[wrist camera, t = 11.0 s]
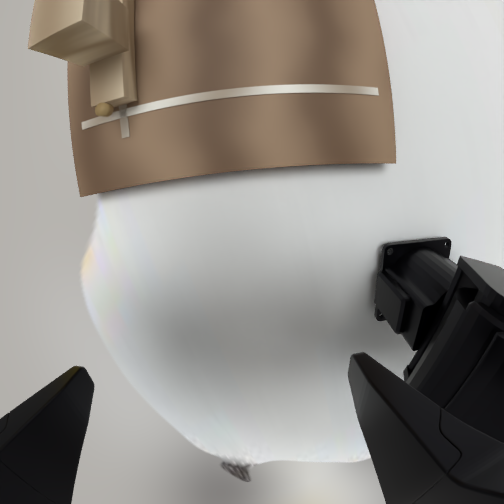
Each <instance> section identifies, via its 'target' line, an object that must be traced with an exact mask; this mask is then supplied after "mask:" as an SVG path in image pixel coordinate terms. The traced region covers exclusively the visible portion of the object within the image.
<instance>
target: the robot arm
mask: <svg viewBox="0 0 504 504" xmlns="http://www.w3.org/2000/svg"><path fill="white" fill-rule="evenodd" d="M445 243H446V245H445ZM390 248H391V250H390V252H388V253H387V250H388V249H390ZM450 249H451V240H450V239H449V238H447V237H440V238H431V239H422V240H412V241H403V242H393V243H387V244H385V245H384V246H383V248H382V254H381V265H380V272H379V274H378V276H377V285H376V293H375V301H374V303H375V304H376V308H375V317H376V319H377V320H378V321H384V320H387V322H388V323H389V325H390V326H391V327H392V329H393V330H394V332H395V333H396V334H402V335H403V337H404V338H405V340H406V341H407V343H408V344H409V346H410V347H411V349H412V350H413V351H416V350H418V351H417V352H416V354H415V356H414V357H413V359H412V361H411V362H410V364H409V365H407V367H406V368H405V370H404V371H403V373H404V380H405V381H403V380H402V379H401V378H399V377H398V376H396V375H395V374H394V373H392V372H391V371H389V370H388V369H387V368H385V367H384V366H383V365H381V364H380V363H378V362H377V361H376V360H374V359H373V358H372V357H370V356H369V355H367V354H366V353H364V352H361V353H356V354H352V355H351V358H350V364H349V370H348V379H349V383H350V387H351V391H352V396H353V400H354V405H355V409H356V414H357V418H358V421H359V424H360V427H361V429H362V432H363V435H364V438H365V441H366V444H367V447H368V450H369V452H370V455H371V458H372V461H373V464H374V467H375V470H376V473H377V476H378V479H379V483H380V486H381V489H382V492H383V495H384V498H385V501H386V504H504V269H502V268H501V267H499V266H496V265H492V264H489V263H485V262H482V261H478V260H474V259H471V258H467V257H463V256H460V258H459V260H458V263H457V264H455V263H454V262H453V261H451V260H450V259H449V255H450ZM380 314H382V315H381V316H379V315H380ZM93 393H94V383H93V381H92V379H91V377H90V376H89V374H88V372H87V370H86V369H85V368H84V367H81V366H74V367H72V368H70V369H69V370H68V371H66V372H65V373H63V374H62V375H61V376H59V377H58V378H56V379H55V380H54V381H52V382H51V383H50V384H48V385H47V386H45V387H44V388H42V389H41V390H40V391H38V392H37V393H35V394H34V395H33V396H31V397H30V398H28V399H27V400H26V401H24V402H23V403H22V404H20V405H19V406H17V407H16V408H15V409H13V410H12V411H10V413H8V414H6V415H5V416H4V417H2V418H1V419H0V504H71V501H72V495H73V489H74V484H75V479H76V474H77V468H78V464H79V459H80V455H81V450H82V446H83V442H84V438H85V434H86V430H87V426H88V421H89V416H90V410H91V404H92V398H93Z"/></svg>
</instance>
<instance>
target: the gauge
mask: <svg viewBox="0 0 504 504" xmlns="http://www.w3.org/2000/svg"><path fill="white" fill-rule="evenodd" d="M134 1H135V0H35V3H34V8H33V14H32V19H31V26H30V34H29V42H28V49H31V50H34V51H38V52H41V53H44V54H48V55H51V56H54V57H57V58H60V59H63V60H66V61H69V62H72V63H75V64H78V65H80V66H83V67H84V66H86V65H90V95H91V107H96V108H95V113H96V115H97V116H103V117H109V116H111V115H112V113H113V110H114V108H113V107H117V106H120V105H124V104H128V103H131V102H135V101H138V100H137V87H136V71H135V47H134Z"/></svg>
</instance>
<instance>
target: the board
mask: <svg viewBox="0 0 504 504" xmlns="http://www.w3.org/2000/svg"><path fill="white" fill-rule="evenodd" d="M134 47H135V71H136V87H137V100H138V101H135V102H131V103H128V104H124V105H120V106H117V107H113V108H114V110H113V113H112V115H111V116H109V117H103V116H97V115H96V113H95V108H96V107H91V95H90V65H86V66H84V67H83V66H80V65H78V64H75V63H72V62H69V61H68V104H69V117H70V130H71V139H72V148H73V156H74V163H75V169H76V175H77V181H78V187H79V192H80V197H84V196H88V195H93V194H97V193H102V192H106V191H111V190H116V189H121V188H126V187H131V186H137V185H142V184H148V183H154V182H160V181H166V180H172V179H178V178H185V177H192V176H199V175H207V174H215V173H223V172H232V171H241V170H251V169H262V168H274V167H287V166H303V165H323V164H355V163H396V145H395V126H394V113H393V102H392V93H391V84H390V77H389V70H388V63H387V57H386V51H385V46H384V41H383V36H382V31H381V26H380V22H379V17H378V13H377V9H376V5H375V2H374V0H135V1H134Z"/></svg>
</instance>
